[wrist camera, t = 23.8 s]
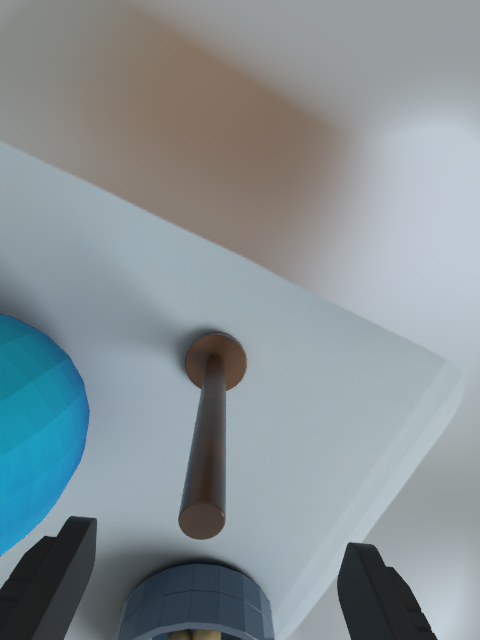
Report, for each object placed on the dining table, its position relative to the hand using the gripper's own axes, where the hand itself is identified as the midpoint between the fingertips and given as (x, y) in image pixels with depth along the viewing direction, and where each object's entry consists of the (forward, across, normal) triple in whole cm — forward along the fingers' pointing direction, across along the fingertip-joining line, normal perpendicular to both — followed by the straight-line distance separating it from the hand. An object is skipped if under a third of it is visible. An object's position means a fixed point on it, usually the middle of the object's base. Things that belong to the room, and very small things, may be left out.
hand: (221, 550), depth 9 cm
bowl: (+16, -1, +28) cm, 32 cm away
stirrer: (+15, +1, 0) cm, 16 cm away
